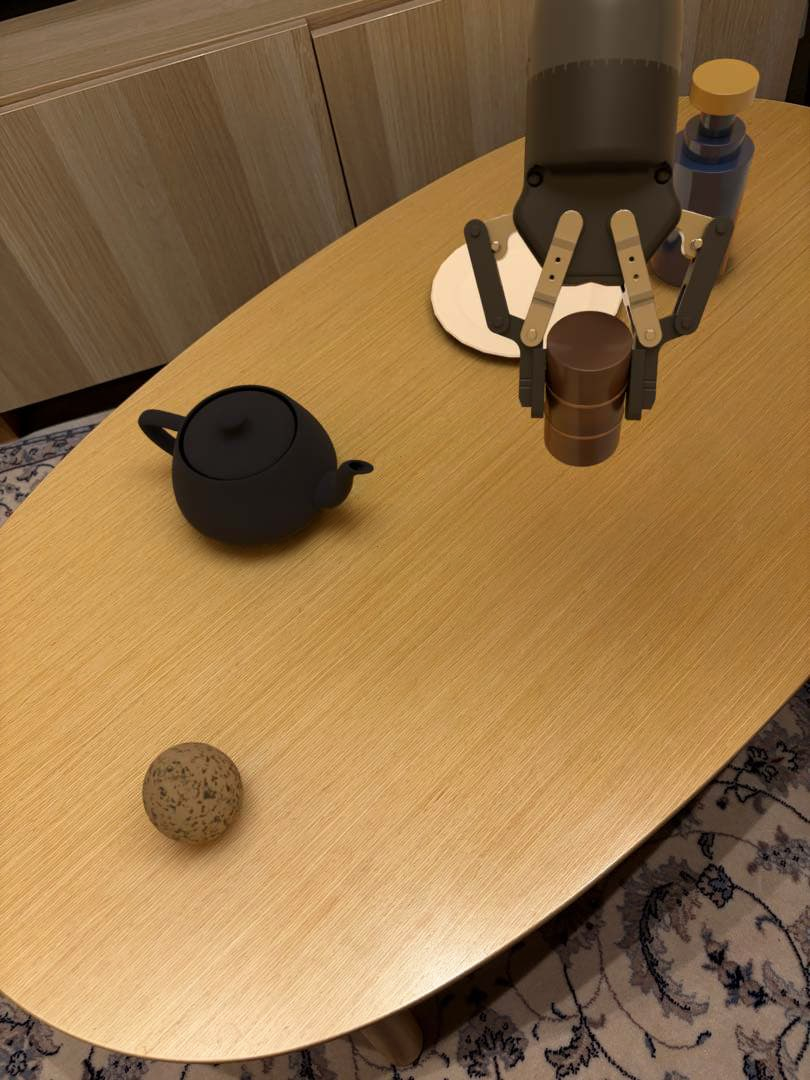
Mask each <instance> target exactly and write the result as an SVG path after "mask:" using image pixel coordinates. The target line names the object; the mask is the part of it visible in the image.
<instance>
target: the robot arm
mask: <svg viewBox="0 0 810 1080" xmlns="http://www.w3.org/2000/svg"><path fill="white" fill-rule="evenodd" d="M684 25H685V11H684V0H532V6H531V12H530V19H529V26H528V41H527V42H528V43H527V60H526V67H525V69H526V70H525V71H526V97H525V98H526V101H525V103H526V104H525V106H526V107H525V126H524V127H525V128H524V130H525V131H524V159H523V160H524V162H523V183H522V190H521V193H520V195H519V197H518V199H517V200H516V202H515V204H514V206H513V210H512V212H509V213H506V214H503V215H499V216H496V217H493V218H490V219H487V220H484V221H483V220H481V219H478V218H473V219H470V220H469V221H467V223H466V224H465V225H464V228H463V236H464V240H465V244H467V248H468V252H469V256H470V260H471V264H472V268H473V272H474V276H475V280H476V284H477V288H478V292H479V295H480V299H481V303H482V307H483V311H484V315H485V319H486V323H487V327H488V329H489V330H490V331H491V332H493V333H495V334H498V335H500V336H503V337H506V338H508V339H511V340H513V341H514V342H515V343H516V344H517V345H518V347H519V349H520V358H519V373H518V400H519V403H520V406H521V408H530V419H540V420H541V419H544V417H545V415H544V402H545V371H546V349H543V339H544V335H545V332H546V329H547V326H548V324H549V321H550V318H551V315H552V312H553V310H554V307H555V304H556V301H557V299H558V296H559V293H560V290H561V287H571V286H580V285H583V284H587V283H596V284H599V285H603V286H619V287H620V291H621V295H622V302H623V305H624V308H625V311H626V314H627V317H628V322H629V326H630V331H631V334H632V337H633V346H632V353H631V360H630V367H629V374H628V385H627V388H626V395H625V403H624V419H625V420H626V421H636V422H637V421H638V422H640V421H642V414H643V410H648V411H649V410H652V408H653V406H654V404H655V402H656V400H657V399H656V398H657V383H658V382H657V381H658V368H659V367H658V366H659V353H660V350H661V348H662V347H663V346H664V344H666V343H668V342H669V341H673V340H675V339H678V338H682V337H684V336H690V335H692V334H693V333H695V332H696V331H697V330H698V329H699V325H700V323H701V320H702V318H703V315H704V313H705V310H706V306H707V304H708V301H709V299H710V296H711V293H712V291H713V288H714V285H715V283H716V281H717V280H716V277H717V274H718V271H719V269H720V266H721V263H722V260H723V258H724V255H725V252H726V250H727V247H728V244H729V241H730V239H731V236H732V233H733V230H734V224H733V221H732V220H731V219H730V218H729V217H727V216H724V215H721V216H717V217H715V218H712V217H708V216H704V215H701V214H697V213H694V212H690V211H687V210H683V209H682V206H681V202H680V200H679V198H678V196H677V194H676V191H675V188H674V181H673V174H674V160H675V145H676V134H677V132H678V131H677V129H678V128H677V127H678V114H679V99H680V84H681V70H682V57H683V56H682V54H683V53H682V52H683V43H684V42H683V41H684V28H685V27H684ZM673 230H675V231H677V232H678V233H679V234H680V235H681V237H682V245H681V251H682V254H683V255H684V256H685V257H686V258H688V259H691V261H690V264H689V267H688V270H687V272H686V275H685V278H684V281H683V284H682V286H681V287H680V289H679V292H678V294H677V297H676V301H675V303H674V306H673V309H672V311H671V314H669V315H667V316H664V317H661V318H659V315H658V312H657V307H656V303H655V298H654V297H655V296H654V290H653V287H652V283H651V279H650V274H649V272H648V271H649V270H648V266H647V265H648V264H649V262H651V259H652V257H653V256H654V255H655V253H656V252H657V251H658V250H659V248H660V247H661V246H662V244H663V243H664V242H665V240H666V239H667V238H668V237H669V235H670V234H671V233H672V231H673ZM516 232H518V234H519V235H520V237H521V238H522V240H523V241H524V243H525V244H526V246H527V247H528V249H529V250H530V252H531V253H532V255H533V256H534V258H535V259H536V261H537V262H538V264H539V265H540V267H541V268H542V271H541V274H540V277H539V280H538V283H537V286H536V289H535V292H534V295H533V298H532V301H531V304H530V307H529V310H528V313H527V316H526V319H525V320H524V319H521V318H519V317H516V316H514V315H511V314H509V310H508V306H507V302H506V298H505V294H504V290H503V286H502V282H501V278H500V274H499V269H498V265H497V261H500V260H502V259H504V258H505V257H506V255H507V253H508V241H509V238H510V237H511V236H512V235H513V234H514V233H516ZM715 280H716V281H715Z"/></svg>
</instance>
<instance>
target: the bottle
mask: <svg viewBox="0 0 810 1080" xmlns="http://www.w3.org/2000/svg"><path fill="white" fill-rule="evenodd" d="M759 82H760V73H759V71H758V69H757V68H756V67H755V66H754V65H753V64H750V63H748V62H746V61H743V60H740V59H736V58H720V59H719V58H718V59H712V60H708V61H706V62H704V63H702V64H701V65H699V66H698V67H696V68H695V70H694V71H693V73H692V77H691V83H690V89H689V94H688V99H689V102H690V104H691V106H692V107H693V108H695V109H696V110H697V111H700V113H698V114H696V115H694V116H691V118H689V119H688V121H686V123H685V125H684V128H683V129H681V130H680V131H677V132H676V145H675V160H674V174H673V181H674V188H675V191H676V194H677V196H678V198H679V200H680V202H681V206H682V209H683V210H687V211H690V212H694V213H697V214H701V215H704V216H708V217H712V218H715V217H717V216H721V215H724V216H727V217H729V218H730V219H731V220H732V221H733V224H734V230H733V233H732V236H731V239H730V241H729V244H728V247H727V250H726V252H725V255H724V258H723V260H722V263H721V266H720V269H719V271H718V274H717V277H716V280H715V282H716V281H717V280H718V279H720V277H722V275H723V274H724V273H725V271H726V267H727V264H728V260H729V255H730V252H731V247H732V244H733V240H734V236H735V233H736V232H735V230H736V227H737V224H738V219H739V216H740V211H741V209H742V208H741V207H742V203H743V199H744V196H745V195H744V194H745V191H746V187H747V184H748V183H747V182H748V179H749V175H750V171H751V167H752V163H753V159H754V155H755V152H756V151H755V150H756V146H755V143H754V141H753V139H752V138H751V136H750V135H749V134H747V125H746V123H745V122H744V121H743V119H741V118H740V117H738V115H737V114H740V113H742V112H745V111H747V110H748V109H749V108H750V107H751V106H752V105H753V104H754V102H755V100H756V94H757V91H758V86H759ZM681 245H682V237H681V235H680V234H679V233H678V232H677V231H675V230H673V231H672V233H671V234H670V235H669V237H668V238H667V239H666V240H665V242H664V243H663V244H662V246H661V247H660V248H659V250H658V251H657V252H656V253H655V255H654V256H653V257H652V259H651V260H650V265H651V269H652V271H653V273H654V274H655V275H656V276H657V277H658V278H659V279H660V280H662V281H663V282H665V283H667V284H669V285H672V286H675V287H678V288H681V286H682V284H683V281H684V278H685V275H686V272H687V270H688V267H689V264H690V261H691V259H688V258H686V257H685V256H684V255H683V254H682V251H681Z"/></svg>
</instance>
